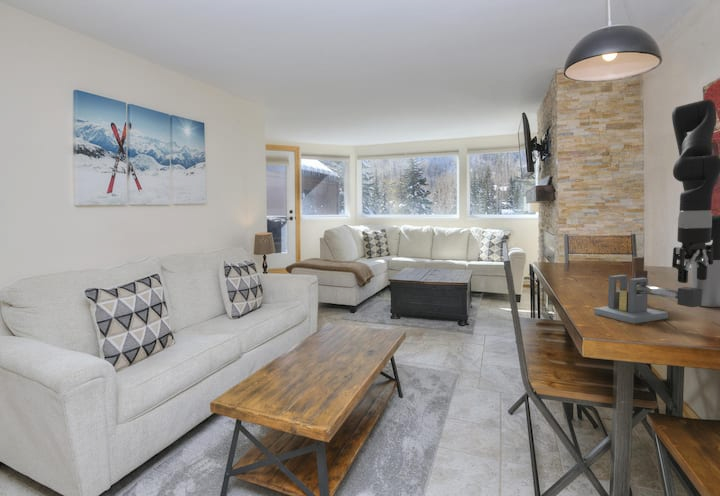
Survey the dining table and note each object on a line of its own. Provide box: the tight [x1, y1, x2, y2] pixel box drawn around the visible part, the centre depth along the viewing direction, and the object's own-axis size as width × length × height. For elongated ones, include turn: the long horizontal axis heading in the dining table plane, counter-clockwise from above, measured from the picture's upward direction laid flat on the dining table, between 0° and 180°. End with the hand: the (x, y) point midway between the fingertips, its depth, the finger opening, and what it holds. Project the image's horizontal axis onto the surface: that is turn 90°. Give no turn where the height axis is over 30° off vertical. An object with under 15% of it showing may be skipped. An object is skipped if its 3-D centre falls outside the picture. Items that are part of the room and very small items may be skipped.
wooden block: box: [631, 256, 649, 285], centre depth 147 cm, size 4×11×18 cm, turn 153°
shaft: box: [636, 284, 702, 308], centre depth 123 cm, size 4×17×5 cm, turn 20°
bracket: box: [593, 274, 669, 325], centre depth 134 cm, size 16×14×13 cm
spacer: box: [619, 288, 640, 312], centre depth 134 cm, size 7×2×7 cm, turn 110°
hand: (692, 281), depth 116 cm, fingers open, 8 cm apart
